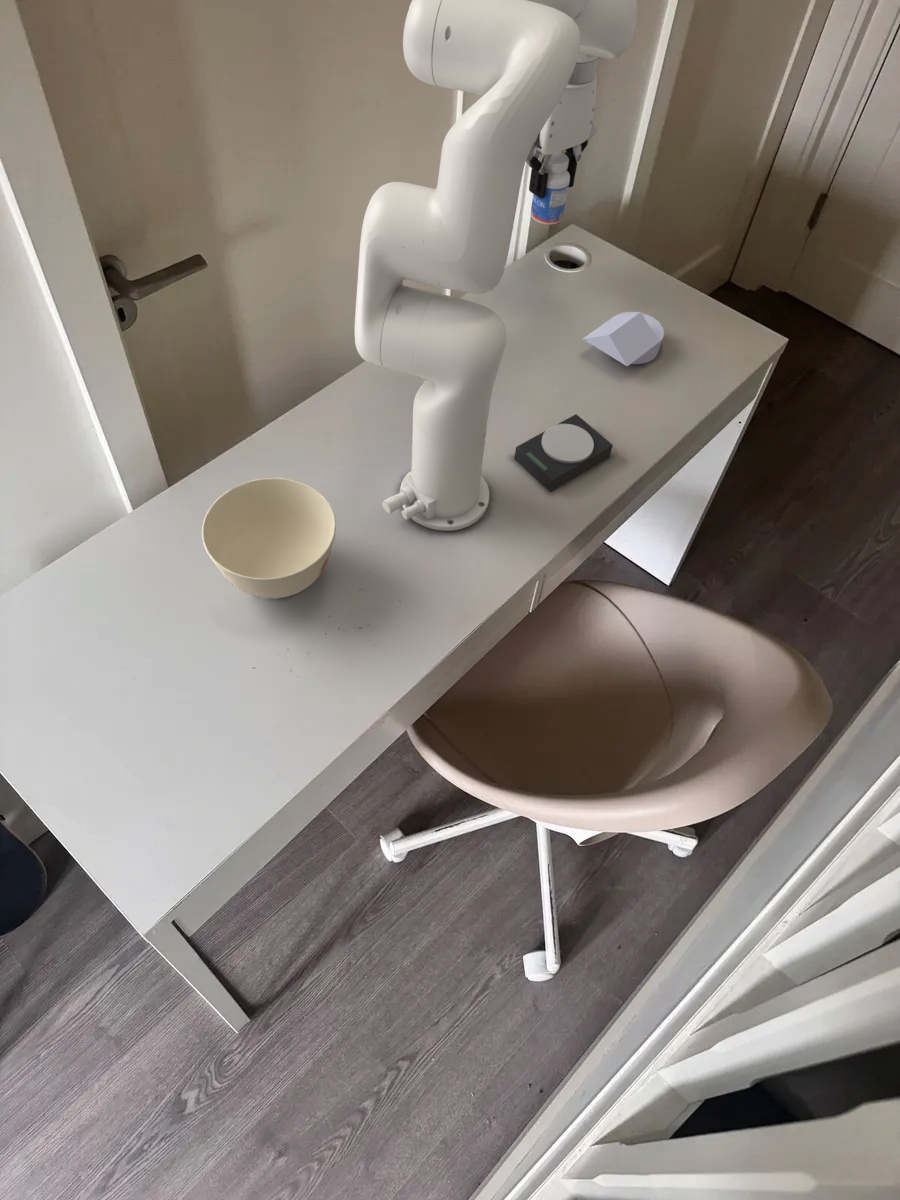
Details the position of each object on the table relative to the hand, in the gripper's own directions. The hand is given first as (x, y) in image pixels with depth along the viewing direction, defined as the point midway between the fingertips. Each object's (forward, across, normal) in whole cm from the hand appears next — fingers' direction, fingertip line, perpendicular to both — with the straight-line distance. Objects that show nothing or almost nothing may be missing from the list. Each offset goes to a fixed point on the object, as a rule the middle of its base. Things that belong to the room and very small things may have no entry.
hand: (551, 187), depth 137 cm
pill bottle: (+5, 0, 0) cm, 5 cm away
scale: (+18, +25, +34) cm, 46 cm away
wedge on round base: (+18, 0, +22) cm, 28 cm away
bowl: (+19, +70, +28) cm, 78 cm away
